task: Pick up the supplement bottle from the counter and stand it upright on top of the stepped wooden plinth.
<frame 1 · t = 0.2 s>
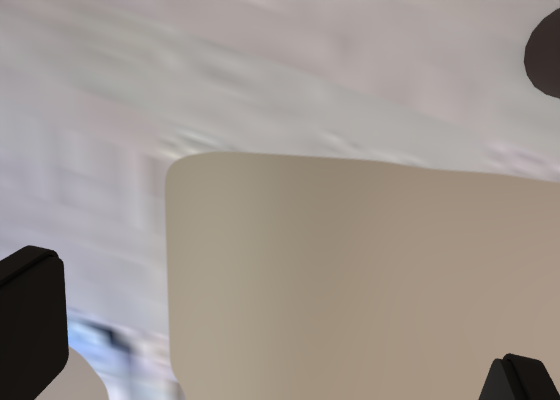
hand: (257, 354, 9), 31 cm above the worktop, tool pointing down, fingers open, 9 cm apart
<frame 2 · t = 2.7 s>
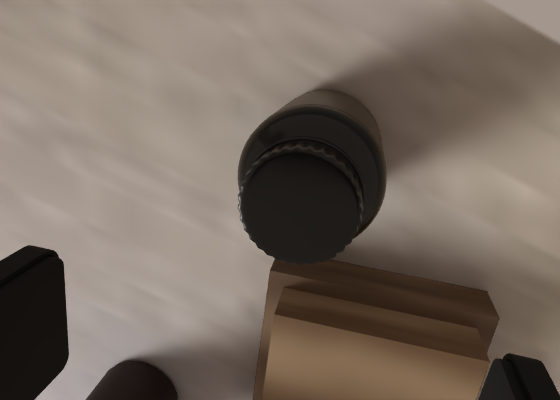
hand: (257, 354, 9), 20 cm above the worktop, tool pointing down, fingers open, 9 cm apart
vinegar: (143, 389, 38), on the worktop
stepped wooden plinth: (360, 352, 32), on the worktop
supplement bottle: (326, 142, 28), on the worktop
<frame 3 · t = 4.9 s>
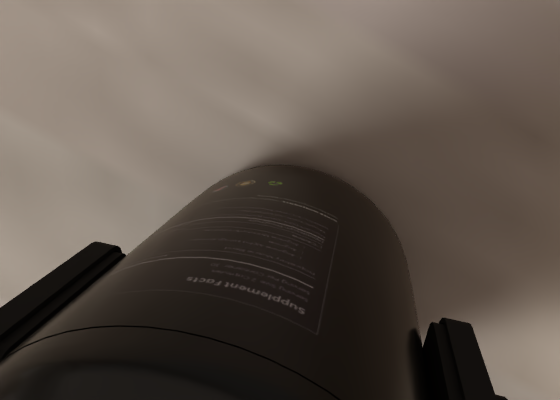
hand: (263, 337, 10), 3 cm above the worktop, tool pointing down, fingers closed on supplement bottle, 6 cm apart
supplement bottle: (290, 266, 13), on the worktop, touching gripper
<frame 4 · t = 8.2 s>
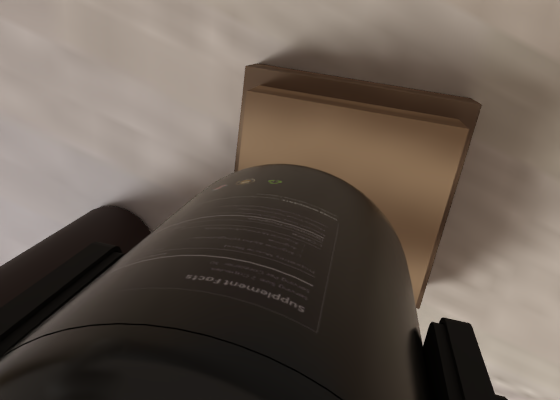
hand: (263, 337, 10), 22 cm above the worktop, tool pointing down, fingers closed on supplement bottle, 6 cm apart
vinegar: (120, 241, 37), on the worktop
stepped wooden plinth: (340, 180, 31), on the worktop
supplement bottle: (290, 265, 13), point 19 cm above the worktop, touching gripper
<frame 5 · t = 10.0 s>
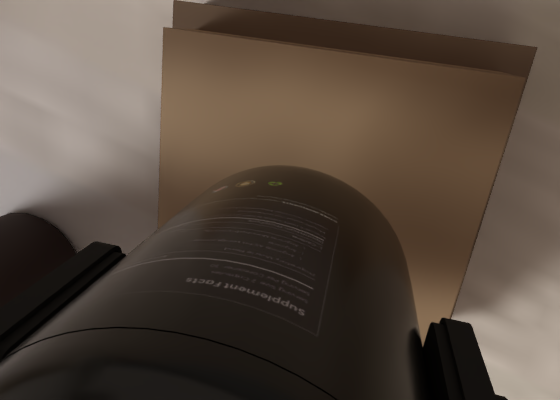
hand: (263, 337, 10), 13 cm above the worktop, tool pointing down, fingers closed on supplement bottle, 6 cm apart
vinegar: (37, 259, 28), on the worktop
stepped wooden plinth: (323, 173, 22), on the worktop
supplement bottle: (290, 266, 13), point 10 cm above the worktop, touching gripper
when the fingers open (11 cm above the worktop, at t = 11.5 s): supplement bottle drops 1 cm, resting on stepped wooden plinth.
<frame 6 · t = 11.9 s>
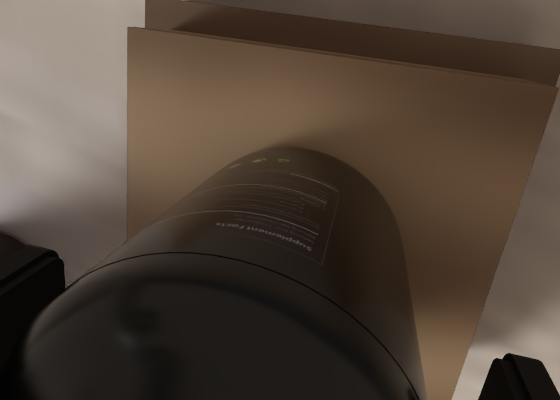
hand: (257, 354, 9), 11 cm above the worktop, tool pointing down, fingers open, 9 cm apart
vinegar: (8, 280, 26), on the worktop
stepped wooden plinth: (319, 190, 20), on the worktop
supplement bottle: (295, 241, 14), point 6 cm above the worktop, touching stepped wooden plinth
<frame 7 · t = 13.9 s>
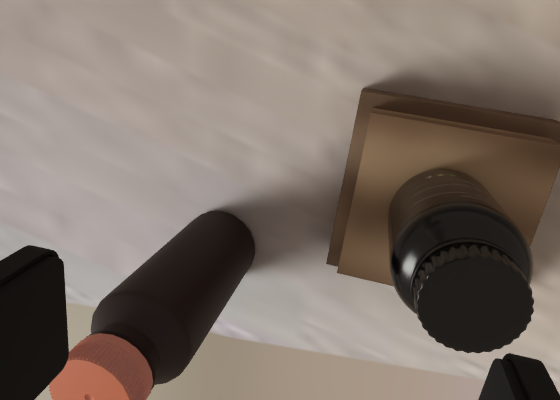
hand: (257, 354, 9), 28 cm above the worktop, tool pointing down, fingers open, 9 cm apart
vinegar: (222, 243, 41), on the worktop
stepped wooden plinth: (431, 190, 36), on the worktop
supplement bottle: (439, 213, 30), point 6 cm above the worktop, touching stepped wooden plinth
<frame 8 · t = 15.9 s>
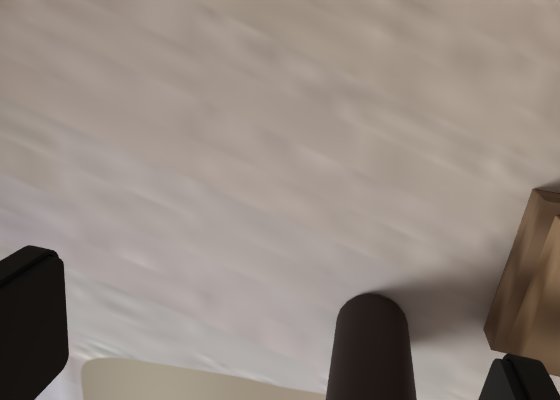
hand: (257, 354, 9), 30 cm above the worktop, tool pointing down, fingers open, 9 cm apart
vinegar: (371, 321, 44), on the worktop
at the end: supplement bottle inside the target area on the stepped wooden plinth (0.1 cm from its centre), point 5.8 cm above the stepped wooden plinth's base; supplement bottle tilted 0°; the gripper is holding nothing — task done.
